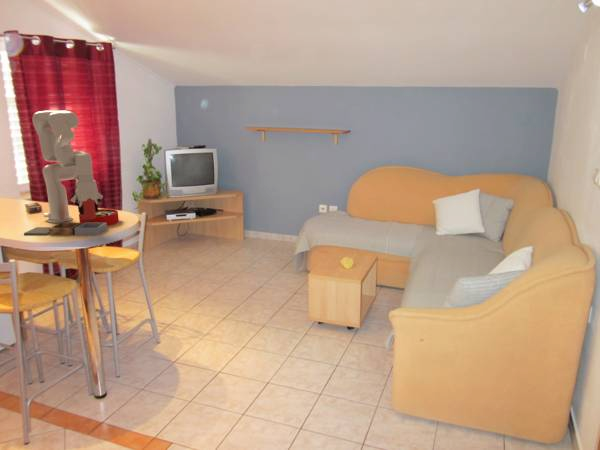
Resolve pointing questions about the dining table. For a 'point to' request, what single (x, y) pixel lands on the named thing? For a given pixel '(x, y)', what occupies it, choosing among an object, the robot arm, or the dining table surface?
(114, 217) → the red round tin
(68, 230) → the walnut frame
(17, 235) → the dining table surface
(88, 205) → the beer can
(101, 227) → the slate frame
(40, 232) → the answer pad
